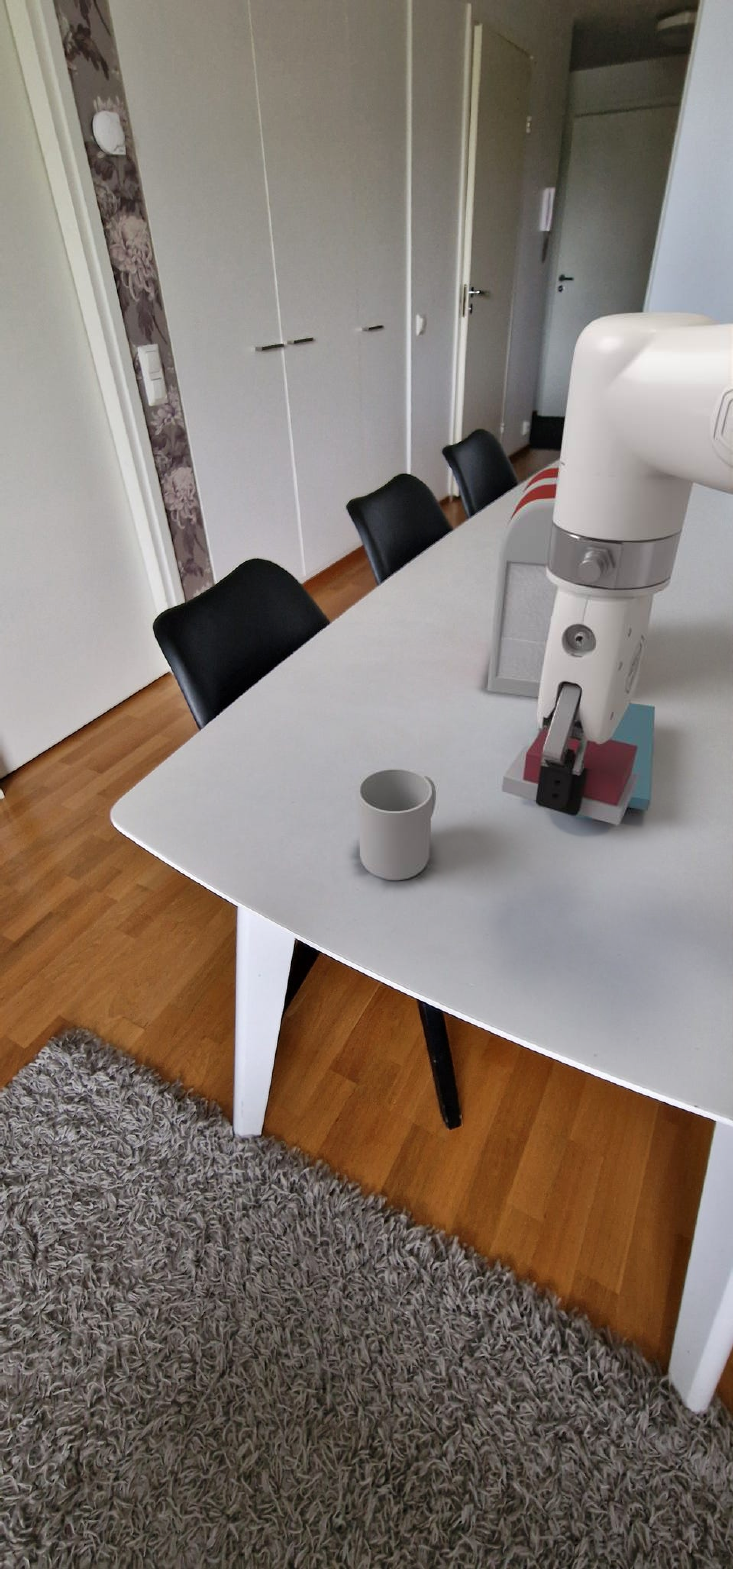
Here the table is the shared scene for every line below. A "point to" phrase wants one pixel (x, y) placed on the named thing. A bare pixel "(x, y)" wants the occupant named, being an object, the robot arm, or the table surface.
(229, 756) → the table surface
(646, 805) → the board
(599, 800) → the maroon block on base
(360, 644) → the table surface
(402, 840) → the cup
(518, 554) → the red-striped rounded block
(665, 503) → the robot arm
